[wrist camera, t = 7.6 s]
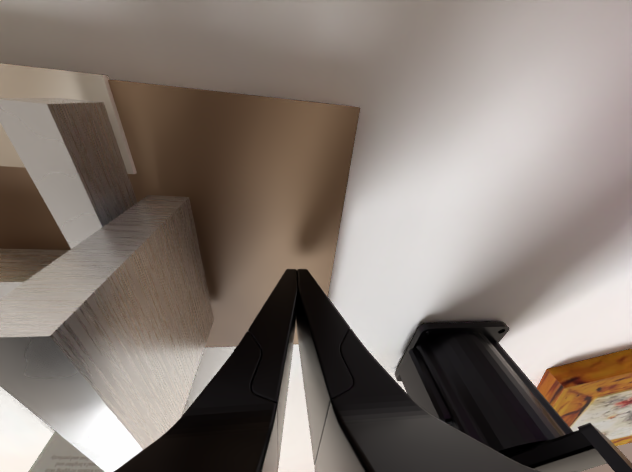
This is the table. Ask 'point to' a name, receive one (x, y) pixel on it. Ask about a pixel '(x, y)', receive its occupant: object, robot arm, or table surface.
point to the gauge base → (207, 179)
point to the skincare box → (63, 458)
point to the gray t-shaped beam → (99, 290)
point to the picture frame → (594, 394)
